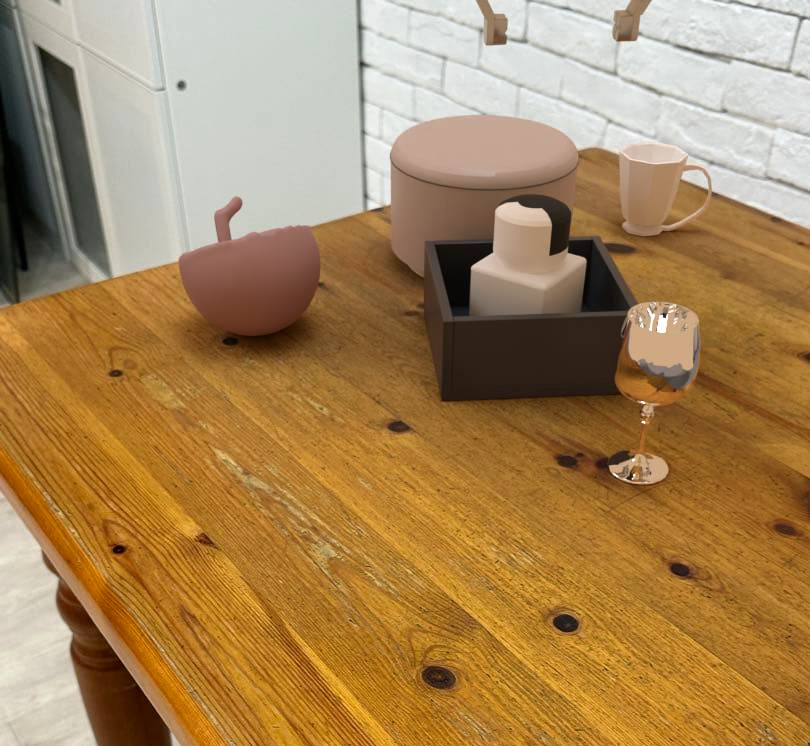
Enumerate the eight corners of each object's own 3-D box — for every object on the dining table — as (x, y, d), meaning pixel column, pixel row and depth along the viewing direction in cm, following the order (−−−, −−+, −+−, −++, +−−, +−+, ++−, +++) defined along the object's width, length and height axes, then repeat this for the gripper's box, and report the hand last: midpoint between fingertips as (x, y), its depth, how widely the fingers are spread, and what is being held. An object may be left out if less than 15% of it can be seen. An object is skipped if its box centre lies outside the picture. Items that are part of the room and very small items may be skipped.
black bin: (590, 308, 97) (599, 235, 93) (632, 393, 85) (644, 314, 81) (423, 313, 96) (424, 240, 92) (441, 401, 84) (443, 321, 80)
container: (362, 240, 109) (359, 124, 102) (512, 213, 115) (520, 102, 108) (439, 310, 97) (442, 184, 89) (603, 275, 103) (618, 155, 95)
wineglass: (625, 497, 74) (651, 344, 66) (583, 455, 78) (602, 306, 70) (693, 478, 75) (725, 327, 68) (648, 439, 80) (674, 292, 72)
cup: (609, 214, 115) (619, 139, 110) (702, 219, 114) (716, 144, 109) (609, 239, 110) (619, 161, 105) (706, 245, 109) (721, 167, 104)
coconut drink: (285, 288, 100) (276, 168, 93) (347, 338, 92) (343, 211, 85) (167, 318, 95) (149, 194, 88) (223, 374, 87) (207, 242, 80)
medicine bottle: (508, 313, 94) (517, 180, 86) (579, 335, 91) (595, 198, 83) (465, 344, 89) (471, 206, 82) (538, 368, 86) (551, 226, 79)
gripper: (721, -199, 70) (688, 27, 78) (416, -194, 69) (416, 35, 77) (753, -192, 65) (715, 48, 73) (425, -187, 64) (424, 57, 72)
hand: (559, 41), depth 75 cm, fingers open, 8 cm apart
